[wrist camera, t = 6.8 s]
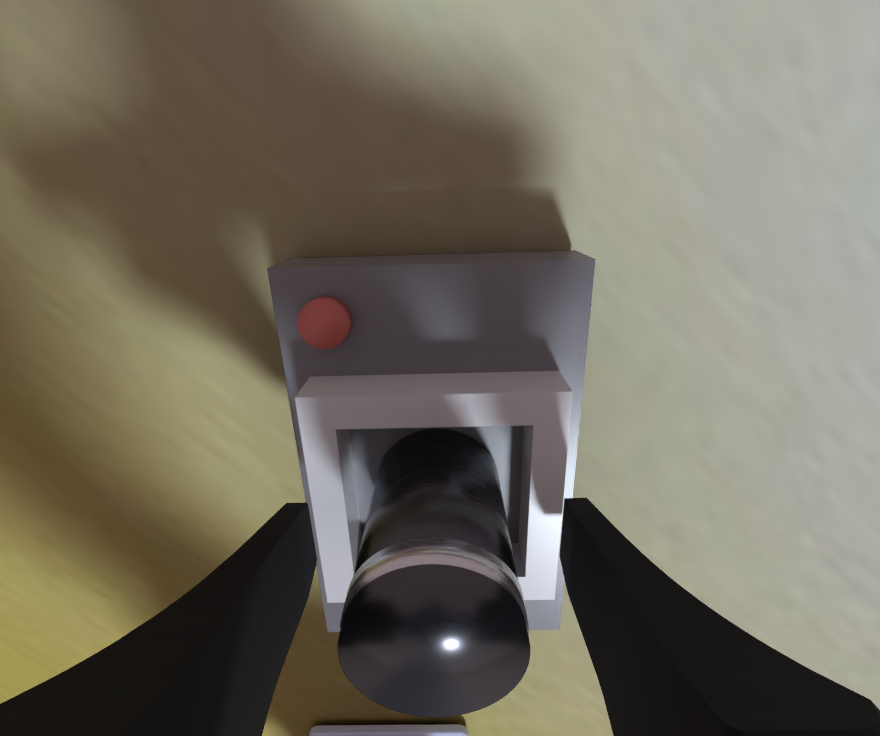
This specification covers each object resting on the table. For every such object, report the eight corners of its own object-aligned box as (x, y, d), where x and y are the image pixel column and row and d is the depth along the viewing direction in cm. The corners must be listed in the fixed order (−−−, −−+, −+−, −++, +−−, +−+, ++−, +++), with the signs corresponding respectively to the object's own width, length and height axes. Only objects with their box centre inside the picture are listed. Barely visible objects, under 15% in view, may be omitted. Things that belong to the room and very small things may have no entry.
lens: (488, 537, 16) (511, 726, 10) (371, 523, 16) (330, 708, 10) (511, 435, 14) (552, 592, 9) (382, 419, 14) (341, 568, 9)
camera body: (548, 586, 19) (570, 667, 16) (338, 589, 19) (317, 670, 16) (575, 250, 14) (614, 268, 11) (290, 258, 14) (245, 277, 11)
